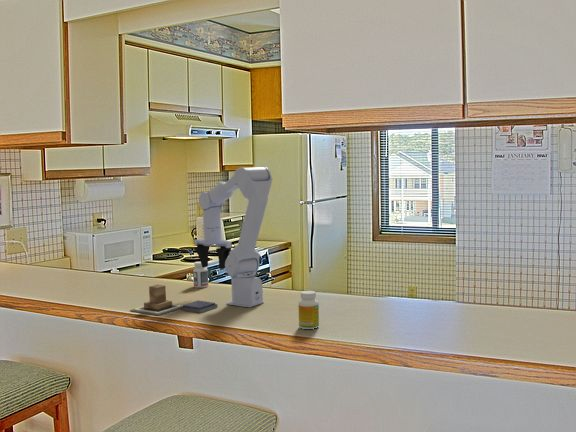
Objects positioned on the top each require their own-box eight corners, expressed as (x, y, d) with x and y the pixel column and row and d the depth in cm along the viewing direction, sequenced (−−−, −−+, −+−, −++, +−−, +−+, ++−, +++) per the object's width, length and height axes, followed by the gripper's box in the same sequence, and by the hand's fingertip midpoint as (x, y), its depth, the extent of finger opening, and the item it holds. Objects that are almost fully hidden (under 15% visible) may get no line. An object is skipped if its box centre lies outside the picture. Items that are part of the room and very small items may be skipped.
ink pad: (217, 307, 196) (217, 302, 196) (200, 313, 190) (200, 308, 190) (198, 304, 201) (197, 299, 201) (180, 310, 194) (180, 305, 194)
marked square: (185, 307, 198) (185, 305, 198) (158, 315, 188) (158, 313, 188) (158, 303, 204) (158, 301, 204) (130, 311, 194) (130, 309, 194)
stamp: (172, 307, 197) (171, 285, 196) (158, 311, 192) (157, 288, 191) (158, 305, 200) (157, 283, 199) (144, 309, 195) (143, 286, 194)
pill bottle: (209, 285, 231) (209, 261, 230) (206, 288, 226) (205, 263, 225) (195, 285, 232) (194, 261, 231) (192, 288, 227) (191, 263, 226)
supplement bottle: (317, 330, 168) (316, 294, 167) (297, 330, 169) (296, 294, 168) (320, 325, 173) (319, 290, 172) (300, 324, 174) (299, 289, 173)
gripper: (187, 228, 212) (189, 268, 213) (221, 229, 204) (222, 271, 205) (201, 225, 218) (203, 264, 219) (234, 227, 210) (236, 267, 211)
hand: (213, 267), depth 213 cm, fingers open, 7 cm apart
